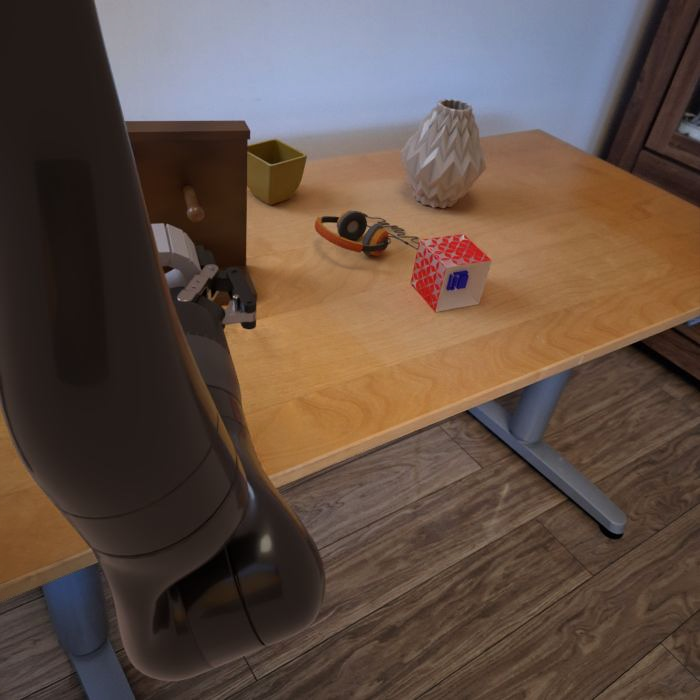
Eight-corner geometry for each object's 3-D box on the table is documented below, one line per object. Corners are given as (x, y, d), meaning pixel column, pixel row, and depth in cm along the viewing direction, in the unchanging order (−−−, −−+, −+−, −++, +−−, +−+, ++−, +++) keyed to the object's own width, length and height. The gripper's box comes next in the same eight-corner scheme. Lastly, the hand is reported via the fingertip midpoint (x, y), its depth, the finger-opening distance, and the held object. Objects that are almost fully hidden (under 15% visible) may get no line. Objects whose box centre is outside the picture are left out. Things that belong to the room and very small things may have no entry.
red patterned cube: (452, 276, 101) (463, 234, 96) (478, 304, 96) (492, 260, 91) (409, 283, 98) (419, 239, 93) (434, 312, 93) (445, 267, 88)
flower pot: (305, 201, 116) (308, 154, 110) (269, 213, 110) (271, 165, 105) (274, 183, 120) (276, 137, 114) (238, 194, 115) (238, 147, 109)
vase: (420, 174, 132) (438, 84, 120) (488, 202, 125) (514, 109, 113) (377, 196, 121) (392, 99, 109) (449, 227, 114) (473, 128, 102)
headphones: (446, 237, 105) (366, 243, 92) (435, 265, 108) (356, 274, 94) (378, 198, 114) (297, 198, 100) (370, 224, 117) (289, 228, 103)
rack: (141, 313, 84) (121, 152, 70) (135, 273, 91) (116, 119, 77) (257, 301, 89) (261, 149, 75) (242, 264, 96) (243, 118, 82)
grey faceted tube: (126, 320, 53) (117, 255, 49) (123, 289, 57) (114, 225, 53) (204, 313, 55) (202, 249, 51) (196, 283, 59) (193, 221, 55)
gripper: (283, 325, 44) (237, 214, 56) (62, 350, 39) (63, 223, 51) (278, 401, 49) (237, 284, 60) (81, 431, 44) (78, 298, 56)
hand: (158, 257), depth 56 cm, fingers closed on grey faceted tube, 6 cm apart
